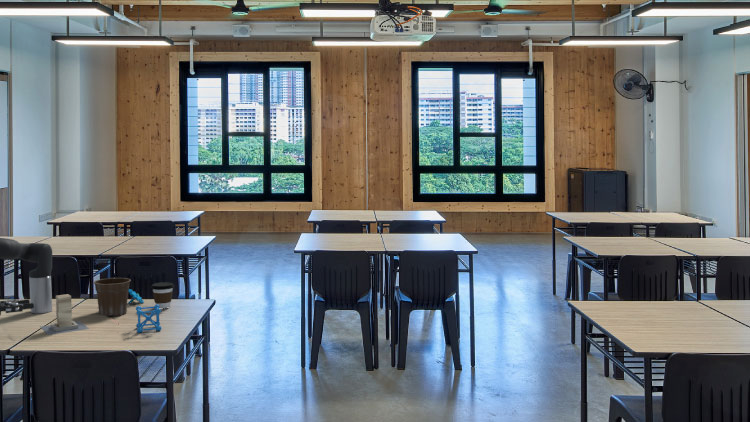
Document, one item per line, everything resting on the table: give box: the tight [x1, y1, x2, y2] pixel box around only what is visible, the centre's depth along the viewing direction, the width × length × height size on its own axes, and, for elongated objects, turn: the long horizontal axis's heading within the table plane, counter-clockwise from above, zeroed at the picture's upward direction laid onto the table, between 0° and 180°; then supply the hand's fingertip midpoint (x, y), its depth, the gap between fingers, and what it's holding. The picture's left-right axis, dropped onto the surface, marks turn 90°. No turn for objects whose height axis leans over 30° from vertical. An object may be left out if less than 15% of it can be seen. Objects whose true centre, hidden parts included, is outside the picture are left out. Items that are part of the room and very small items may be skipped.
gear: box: [127, 288, 145, 305], centre depth 317 cm, size 11×6×10 cm
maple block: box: [55, 294, 73, 327], centre depth 267 cm, size 5×5×14 cm
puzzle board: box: [40, 320, 90, 336], centre depth 267 cm, size 16×16×2 cm
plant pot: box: [93, 277, 131, 317], centre depth 295 cm, size 16×16×16 cm
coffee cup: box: [150, 281, 175, 308], centre depth 307 cm, size 11×11×12 cm
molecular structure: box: [135, 304, 162, 334], centre depth 269 cm, size 10×10×10 cm
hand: (31, 303), depth 258 cm, fingers open, 8 cm apart
